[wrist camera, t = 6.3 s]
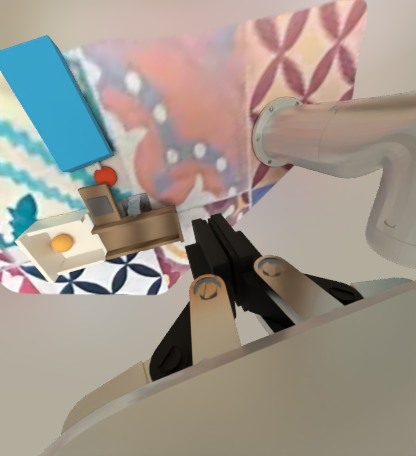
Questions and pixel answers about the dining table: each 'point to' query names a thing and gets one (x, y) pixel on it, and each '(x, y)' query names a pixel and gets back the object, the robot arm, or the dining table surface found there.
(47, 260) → the box
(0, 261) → the dining table surface
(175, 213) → the brown shallow tray
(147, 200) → the stand
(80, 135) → the lever
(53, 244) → the ball
